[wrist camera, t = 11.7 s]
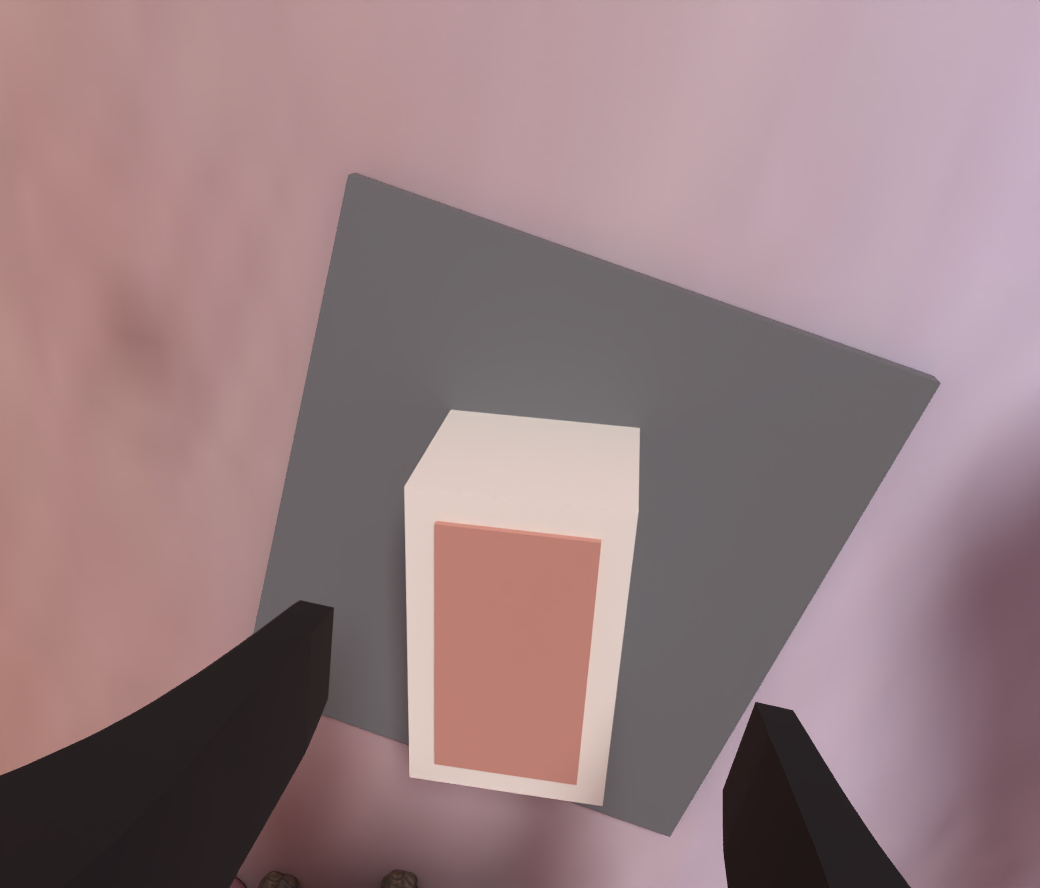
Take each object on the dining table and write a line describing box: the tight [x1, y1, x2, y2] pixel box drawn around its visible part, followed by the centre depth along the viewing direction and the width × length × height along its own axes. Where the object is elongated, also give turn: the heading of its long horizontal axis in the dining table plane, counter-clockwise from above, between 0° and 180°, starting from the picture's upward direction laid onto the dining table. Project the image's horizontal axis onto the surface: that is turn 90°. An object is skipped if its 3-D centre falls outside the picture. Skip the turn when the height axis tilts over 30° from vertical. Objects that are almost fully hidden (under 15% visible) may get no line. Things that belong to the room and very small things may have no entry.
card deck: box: [404, 410, 640, 806], centre depth 20 cm, size 8×5×5 cm, turn 177°
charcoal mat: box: [254, 173, 940, 837], centre depth 23 cm, size 15×17×1 cm
